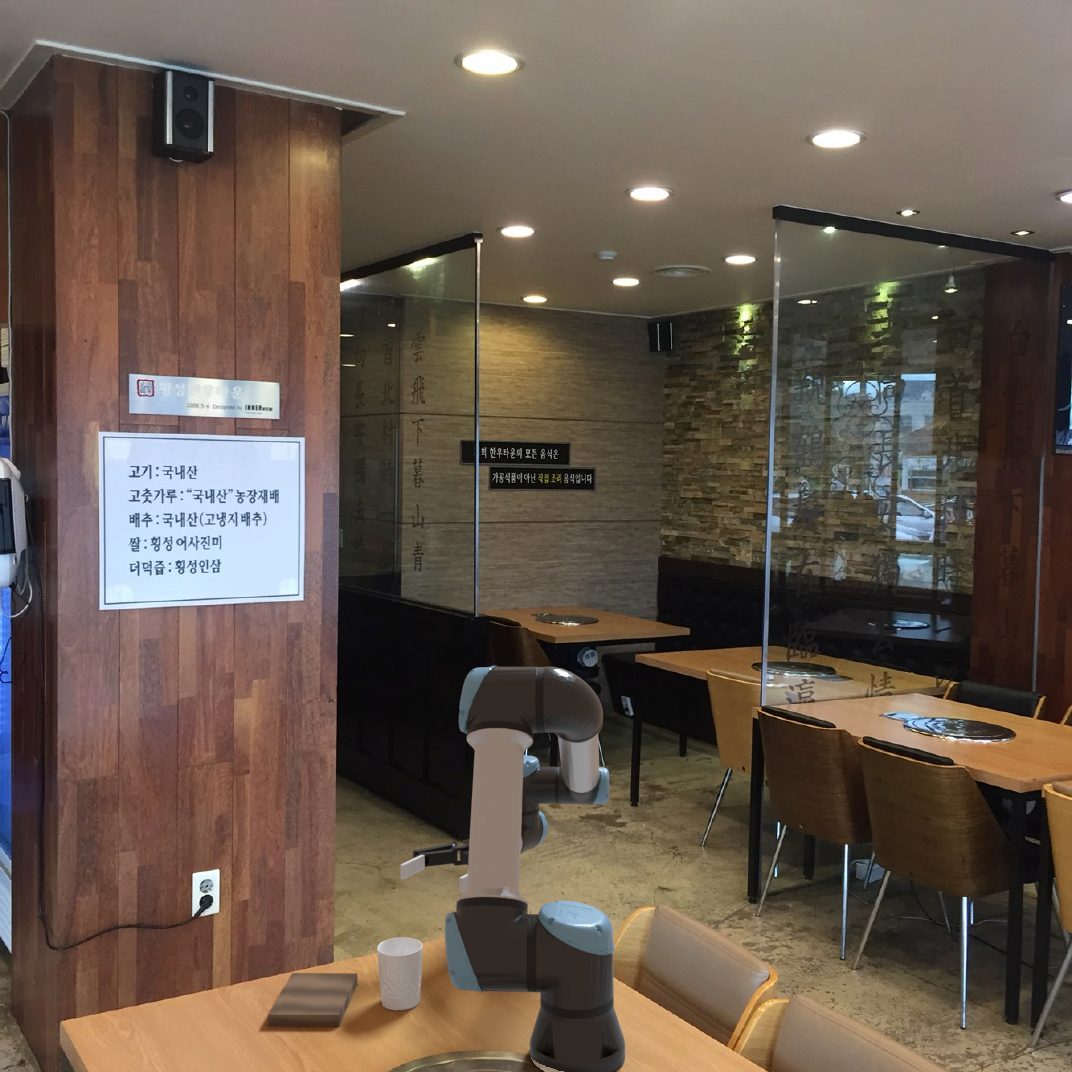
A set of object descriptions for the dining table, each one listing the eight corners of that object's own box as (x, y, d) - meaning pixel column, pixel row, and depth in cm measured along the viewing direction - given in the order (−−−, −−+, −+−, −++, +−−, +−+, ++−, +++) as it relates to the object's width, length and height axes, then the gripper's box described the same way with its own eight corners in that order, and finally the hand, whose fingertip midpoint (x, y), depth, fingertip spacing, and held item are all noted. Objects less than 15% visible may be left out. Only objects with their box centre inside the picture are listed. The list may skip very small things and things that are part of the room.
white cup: (415, 1014, 188) (414, 957, 188) (371, 1010, 190) (370, 953, 190) (428, 994, 196) (428, 938, 196) (386, 990, 198) (385, 935, 197)
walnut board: (339, 1026, 184) (338, 1014, 184) (268, 1026, 185) (268, 1014, 185) (357, 984, 200) (357, 973, 200) (292, 983, 201) (292, 973, 201)
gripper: (548, 875, 213) (487, 912, 195) (445, 853, 226) (378, 886, 208) (548, 837, 213) (486, 870, 195) (444, 818, 226) (377, 847, 208)
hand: (430, 878), depth 201 cm, fingers open, 13 cm apart
